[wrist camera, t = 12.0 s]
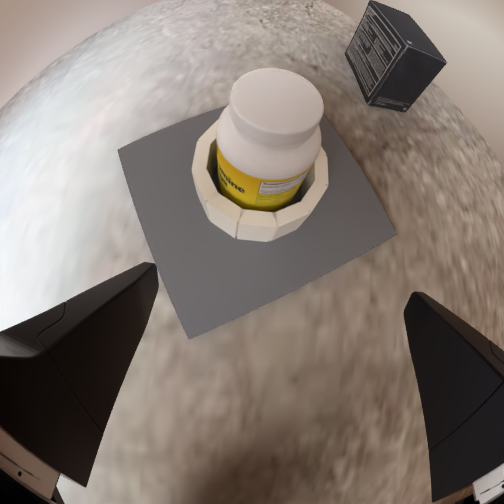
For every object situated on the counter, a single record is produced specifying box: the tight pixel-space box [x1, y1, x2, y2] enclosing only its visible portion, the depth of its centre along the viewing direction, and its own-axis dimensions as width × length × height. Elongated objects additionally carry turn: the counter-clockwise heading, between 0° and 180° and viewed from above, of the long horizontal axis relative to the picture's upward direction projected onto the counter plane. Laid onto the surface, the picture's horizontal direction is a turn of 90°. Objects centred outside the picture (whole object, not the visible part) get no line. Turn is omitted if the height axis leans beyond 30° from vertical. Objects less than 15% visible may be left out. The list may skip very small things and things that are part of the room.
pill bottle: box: [216, 68, 324, 213], centre depth 17 cm, size 6×6×11 cm
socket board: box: [118, 106, 397, 339], centre depth 21 cm, size 20×18×5 cm
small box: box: [345, 0, 447, 112], centre depth 24 cm, size 11×6×10 cm, turn 5°
